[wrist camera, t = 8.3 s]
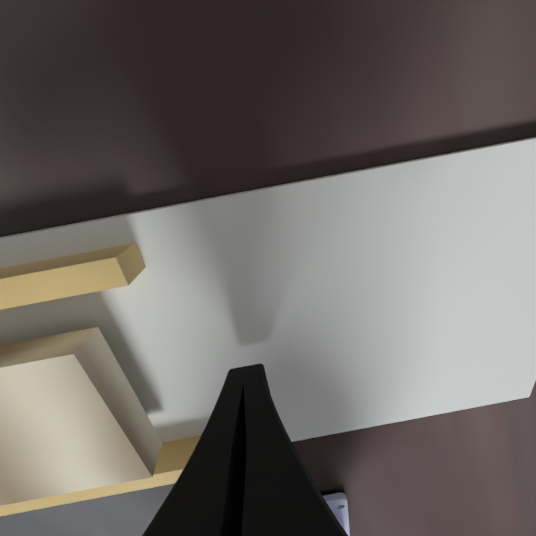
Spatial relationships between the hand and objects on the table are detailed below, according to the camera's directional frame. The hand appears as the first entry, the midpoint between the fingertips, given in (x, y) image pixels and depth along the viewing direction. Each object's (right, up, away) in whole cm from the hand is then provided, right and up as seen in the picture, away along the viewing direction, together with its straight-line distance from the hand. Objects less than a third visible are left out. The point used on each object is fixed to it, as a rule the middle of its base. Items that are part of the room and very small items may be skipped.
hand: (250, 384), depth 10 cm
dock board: (-1, +1, +2) cm, 2 cm away
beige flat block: (-10, -1, +2) cm, 10 cm away
